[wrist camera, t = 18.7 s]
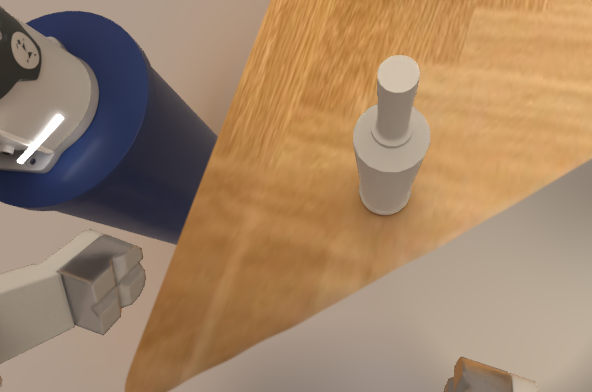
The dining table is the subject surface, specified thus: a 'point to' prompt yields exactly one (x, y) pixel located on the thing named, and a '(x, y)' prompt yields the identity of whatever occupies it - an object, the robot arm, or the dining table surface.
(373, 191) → the white round tapered piece
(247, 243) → the dining table surface
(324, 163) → the dining table surface
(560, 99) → the dining table surface
